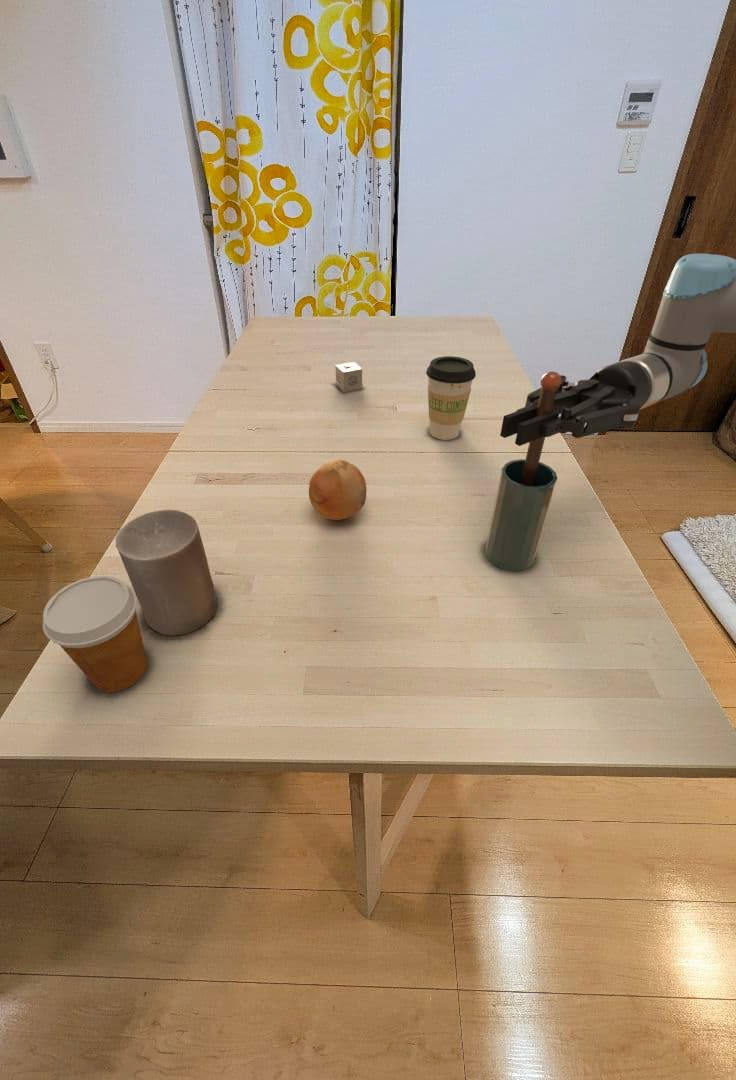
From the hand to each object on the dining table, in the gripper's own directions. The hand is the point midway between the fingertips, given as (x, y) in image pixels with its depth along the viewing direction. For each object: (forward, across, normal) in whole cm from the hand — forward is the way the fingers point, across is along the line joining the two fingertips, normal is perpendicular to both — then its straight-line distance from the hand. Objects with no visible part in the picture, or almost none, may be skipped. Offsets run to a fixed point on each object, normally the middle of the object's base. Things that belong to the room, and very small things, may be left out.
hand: (511, 430), depth 64 cm
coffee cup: (-24, +36, -23) cm, 49 cm away
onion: (+11, +24, -23) cm, 35 cm away
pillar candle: (+40, +18, -23) cm, 50 cm away
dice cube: (-20, +68, -23) cm, 74 cm away
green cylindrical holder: (-6, 0, -23) cm, 24 cm away
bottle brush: (-6, 0, -20) cm, 21 cm away
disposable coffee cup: (+50, +12, -23) cm, 57 cm away
